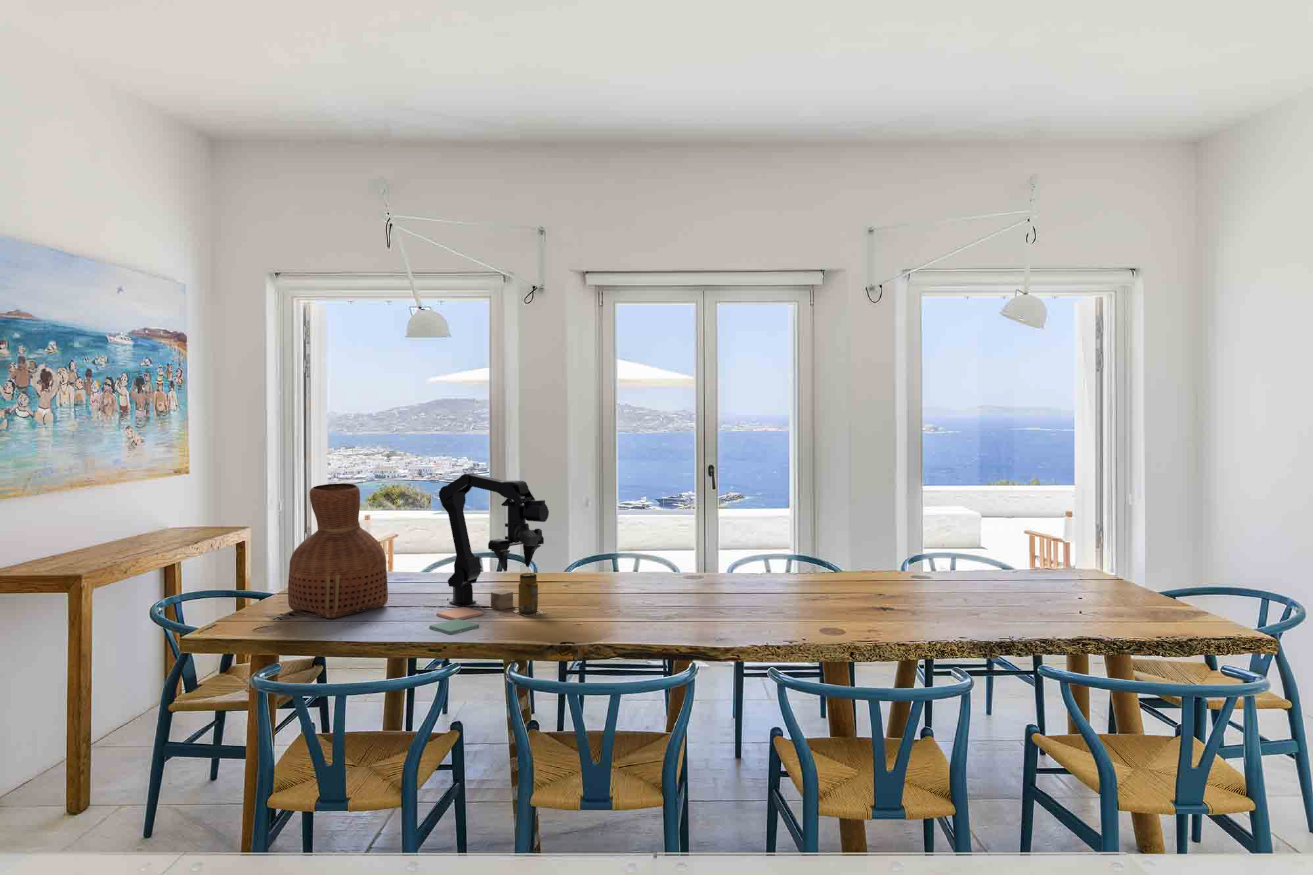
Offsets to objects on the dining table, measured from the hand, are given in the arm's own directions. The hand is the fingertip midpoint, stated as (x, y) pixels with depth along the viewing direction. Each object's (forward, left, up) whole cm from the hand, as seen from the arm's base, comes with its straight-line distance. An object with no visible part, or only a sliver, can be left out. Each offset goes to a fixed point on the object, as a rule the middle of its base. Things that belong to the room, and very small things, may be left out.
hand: (516, 569), depth 244 cm
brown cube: (-6, -1, -13) cm, 14 cm away
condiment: (+6, 0, -13) cm, 15 cm away
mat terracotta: (-8, -16, -13) cm, 22 cm away
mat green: (+3, -26, -13) cm, 29 cm away
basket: (-44, -36, -13) cm, 58 cm away
